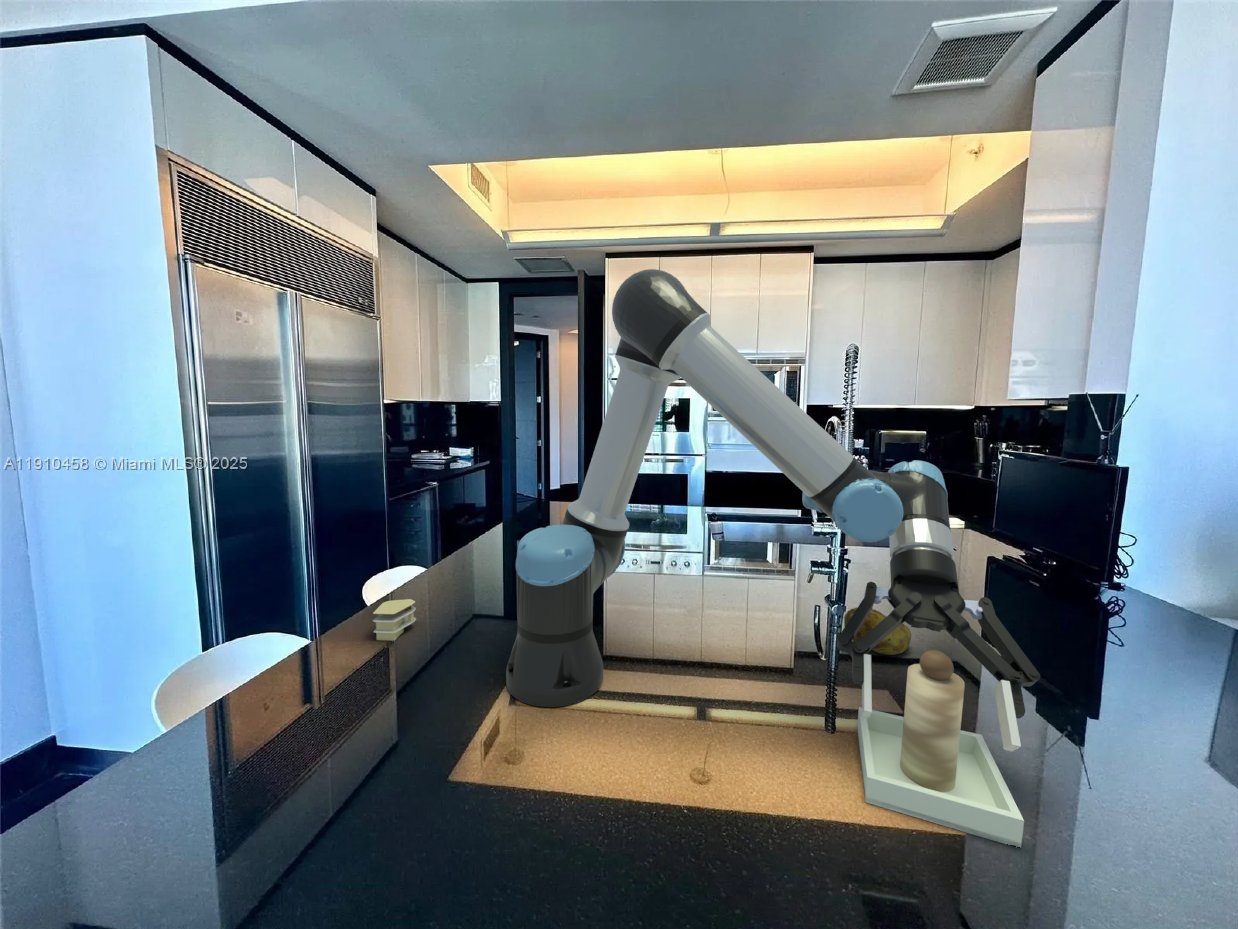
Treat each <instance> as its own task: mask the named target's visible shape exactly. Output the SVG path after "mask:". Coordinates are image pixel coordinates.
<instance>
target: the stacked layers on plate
mask: <svg viewBox="0 0 1238 929" xmlns="http://www.w3.org/2000/svg"><path fill="white" fill-rule="evenodd" d="M415 603H416V601H415V600H413V599H411V598H407V599H406V598H405V599H394V600H393V599H392V600H386V601H384V602H382V603H381V604H380V605H379V606H378V607H377V608H376V609H375V610H374V611H373V613H372V615H376V616H375V618H373V619H372V623H373V622H374V623H375V628H374V630H373V633H376V641H396V640H397V638H399V637H400V635H402V634H403V633H404V632H405V630H404V629H405V628H406V627H408V626H410V625H411V624H413V623H414V622H415V621H416V620H417V617H415V616H414V614H415V613H414V612H415V611H416V610H417V609H416V607H415V606H413V604H415Z"/></svg>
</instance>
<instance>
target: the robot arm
mask: <svg viewBox="0 0 1238 929" xmlns="http://www.w3.org/2000/svg"><path fill="white" fill-rule="evenodd" d="M611 317H612V322H613V324H614V328H615V329H616V332H617V334H618V336H620V340H619V342H618V345H617V349H616V351H615V355H614V358H615V360H616V362H617V365H618V367H619V371H618V372H619V373H618V375H617V379H616V382H615V385H614V388H613V390H612V394H611V398H610V401H609V404H608V406H607V407H608V408H607V410H606V412H605V417H604V419H603V423H602V425H601V428H600V431H599V434H598V437H597V441H596V444H595V448H594V450H593V454H592V457H591V461H590V463H589V466H588V469H587V472H586V476H585V478H584V482H583V484H582V489H581V492H580V494H579V497H578V499H576V500H574V501H572V502H570V503H569V504H568V505H567V508H566V512H565V513H564V517H563V520H562V523H561V524H553V525H547V526H545V527H539V528H536V529H533V530H531V531H529V532H528V533H526V534H525V535H524V536H522V538H521V539H520V541H519V542H518V546H517V549H516V550H517V552H516V559H515V571H516V614H517V615H516V616H517V617H516V618H517V633H516V638H515V641H514V644H513V646H512V650H511V652H510V656H509V658H508V661H507V665H506V670H505V678H506V680H505V681H506V682H505V683H506V688H507V690H508V692H509V694H510V695H511V696H513V698H515V699H517V700H518V701H520V702H522V703H524V704H527V705H530V706H536V707H543V708H553V707H554V708H555V707H564V706H565V707H566V706H569V705H574V704H576V703H579V702H581V701H584V700H586V699H588V698H590V697H591V696H593V695H594V694H595V693H596V692H597V691H598V690H599V689H600V688H601V686H602V684H603V682H604V661H603V658H602V656H601V652H600V649H599V646H598V642H597V639H596V637H595V636H596V635H595V634H594V631H593V623H594V622H593V619H594V618H593V617H594V614H593V613H594V610H593V609H594V608H593V607H594V593H595V592H596V591H597V590H598V589H599V588H600V586H602V584H603V583H604V582H606V580H607V579H608V578H609V577H611V576H612V575H613V574H614V573H615V572H616V570H617V569H618V568H619V566H620V565H621V564H622V561H623V559H624V556H625V550H626V537H627V535H628V534H627V533H628V530H629V528H630V521H629V520H628V519H627V516H626V514H625V513H626V511H627V508H628V505H629V502H630V499H631V496H632V492H633V490H634V488H635V486H636V485H635V483H636V481H637V479H638V475H639V473H640V469H641V467H642V463H643V460H644V457H645V455H646V453H647V452H646V451H647V449H648V446H649V443H650V440H651V438H652V434H653V431H654V428H655V426H656V423H657V419H658V416H659V414H660V410H661V408H662V404H663V402H664V399H665V396H666V392H667V390H668V387H669V385H671V384H673V383H674V382H677V381H678V380H680V379H682V380H683V381H684V382H685V383H686V384H687V385H689V387H690V388H692V389H693V390H694V391H695V392H696V393H697V394H698V395H699V396H700V397H702V399H703V400H705V401H706V403H707V404H708V405H710V406H711V407H712V408H713V409H714V410H715V411H716V412H717V413H718V414H720V415H721V416H722V418H723V419H725V420H726V421H727V422H728V423H729V424H730V425H731V426H732V427H733V428H735V430H736V431H738V432H739V433H740V434H741V435H742V436H743V437H744V438H745V439H746V440H747V441H748V442H749V443H751V445H753V447H754V448H756V449H757V451H759V453H761V454H762V455H763V456H764V457H765V458H767V460H769V462H771V463H772V464H773V465H774V466H775V467H776V468H777V469H778V470H779V471H780V472H781V473H783V474H784V475H785V476H786V477H787V478H788V479H789V480H790V481H791V482H792V483H793V484H794V485H795V486H796V487H798V489H800V490H801V491H802V496H801V497H802V498H801V500H802V505H803V506H804V508H806V509H809V510H813V511H817V512H818V513H821V514H822V513H824V514H826V516H828V517H829V518H830V519H831V520H832V521H833V522H834V524H835V526H836V527H837V528H838V529H839V530H840V531H841V532H842V534H845V535H846V536H848V537H849V538H851V539H853V540H855V541H858V542H863V543H864V542H865V543H876V542H877V543H878V542H880V541H883V540H885V539H887V538H889V558H890V561H889V569H890V574H889V575H890V587H889V588H884V587H879V586H877V584H876V583H875V582H873V581H868V582H866V586H865V590H864V595H863V596H864V597H863V598H862V600H861V602H860V603H859V605H858V608H857V607H856V608H857V609H856V611H855V612H854V614H853V615H852V617H851V618H850V620H849V621H848V623H847V625H846V626H845V625H844V628H843V629H842V631H841V632H840V633H839V635H838V636H837V641H836V648H837V650H838V651H841V652H844V653H847V654H848V655H849V656H850V658H851V663H852V664H851V680H852V682H853V684H856V685H860V686H861V707H862V716H863V717H867V718H869V717H870V715H871V713H872V710H873V702H872V698H873V697H872V691H873V690H872V654H868V653H869V652H870V651H871V650H872V648H874V647H875V646H876V645H877V644H878V643H879V642H881V641H882V640H883V639H884V638H885V637H886V636H887V635H889V634H890V633H891V632H892V631H893V630H894V629H896V628H898V627H899V626H900V625H901V624H902V623H903V624H905V623H906V624H907V625H909V626H910V627H911V628H916V629H927V630H929V631H930V630H931V631H932V632H933V631H934V632H938V633H940V632H941V631H946V632H947V633H948V634H949V635H950V637H952V638H954V639H955V640H957V641H958V642H960V644H962V646H963V647H964V648H965V649H966V651H968V652H969V653H970V654H971V655H972V656H973V658H975V659H976V660H977V661H978V662H979V663H980V664H981V665H982V667H984V668H985V669H986V670H987V671H988V672H989V674H990V675H991V676H993V677H994V678H995V679H996V680H997V681H998V682H997V683H996V685H995V686H994V687H993V690H994V696H995V703H996V708H997V716H998V722H999V723H998V724H999V728H1000V735H1001V741H1002V748H1003V750H1004V751H1008V752H1012V753H1014V752H1015V751H1016V750H1017V749H1019V748H1021V747H1022V744H1021V738H1020V732H1019V727H1018V720H1017V719H1019V720H1020V719H1021V718H1022V717H1024V716H1025V715H1026V714H1025V713H1026V707H1025V703H1024V702H1025V701H1024V695H1023V691H1022V690H1023V689H1022V687H1027V688H1028V687H1029V688H1030V687H1032V686H1033V685H1035V684H1036V683H1037V682H1038V681H1040V679H1041V674H1040V672H1039V671H1038V670H1037V668H1036V666H1034V664H1033V663H1032V662H1031V660H1030V659H1029V658H1028V656H1027V655H1026V654H1025V653H1024V651H1023V650H1022V648H1021V647H1020V645H1018V643H1017V641H1016V640H1015V639H1014V638H1013V636H1012V635H1011V634H1010V632H1009V631H1008V630H1007V628H1006V627H1005V626H1004V624H1003V623H1002V622H1001V620H1000V619H999V617H998V616H997V615H996V611H995V609H994V606H993V601H992V600H991V599H990V598H989V597H980V598H979V600H973V599H972V600H969V599H964V598H963V597H962V595H961V594H960V588H959V581H958V580H959V579H958V574H957V573H958V572H957V565H956V562H955V557H956V556H955V550H954V542H953V538H952V537H953V535H952V529H951V525H950V523H951V522H950V513H949V502H948V499H949V497H948V494H949V493H948V490H947V487H946V483H945V479H944V475H943V473H942V471H941V470H940V469H939V468H938V466H936V465H934V464H932V463H930V462H928V461H924V460H918V459H917V460H916V459H915V460H912V461H909V462H908V461H901V462H899V463H896V464H894V465H892V467H890V469H888V471H887V472H883V471H875V470H870V469H868V468H867V467H865V466H864V465H863V464H862V463H861V462H860V461H858V459H856V458H855V457H854V456H853V454H851V452H850V451H848V450H847V449H846V448H844V446H842V444H841V443H840V442H838V441H837V440H836V439H835V438H834V437H833V436H832V435H830V433H828V432H827V431H826V430H825V429H824V428H823V427H822V426H820V424H819V423H817V421H815V420H814V419H813V418H812V417H811V416H810V415H808V414H807V413H806V412H805V411H804V410H803V408H801V407H800V406H798V405H797V403H795V402H794V401H793V400H792V399H791V398H790V397H789V396H788V395H787V394H786V393H785V392H783V391H782V390H781V389H780V388H779V387H778V386H777V385H776V384H775V383H774V382H772V381H771V380H770V379H769V378H768V377H767V376H766V375H765V374H764V373H763V372H762V371H760V370H759V369H758V368H757V367H756V366H755V365H754V364H753V363H752V362H751V361H749V360H748V359H747V358H746V357H745V356H744V355H743V354H742V353H741V352H739V351H738V350H737V349H736V348H735V347H734V346H733V345H732V344H730V342H728V340H726V339H725V338H724V337H723V336H722V335H721V334H720V333H719V332H717V330H715V329H714V327H712V325H711V315H710V314H709V313H708V312H707V311H706V309H704V308H703V307H702V306H701V305H700V304H699V303H698V302H697V301H696V300H695V299H694V298H693V297H692V295H690V293H689V292H688V290H687V289H686V288H685V286H684V285H683V283H682V282H681V281H680V280H679V279H678V278H677V277H676V276H674V275H672V274H671V273H669V272H667V271H665V270H660V269H656V268H653V269H652V268H651V269H650V268H649V269H643V270H640V271H638V272H634V273H633V274H631V275H630V276H628V277H627V278H626V279H625V280H624V281H623V282H622V283H621V284H620V285H619V287H618V289H617V291H616V292H615V296H614V298H613V300H612V306H611ZM885 599H886V600H887V601H888V603H889V604H890V605H891V606H892V607H893V610H892V611H891V612H890V613H889V614H888V615H887V617H886V618H885V619H883V620H882V621H881V622H880V623H879V624H878V625H876V626H875V627H874V628H873V629H872V630H871V631H869V632H868V633H867V634H866V635H865V636H864V637H862V638H861V639H860V640H859V641H858V642H857V643H855V642H854V641H853V638H854V637H855V635H856V633H857V632H858V630H859V629H860V627H861V626H862V624H863V623H864V621H865V619H866V618H867V616H868V615H869V613H870V612H871V610H872V609H873V607H874V605H878V604H880V603H881V602H882V601H884V600H885ZM963 611H966V612H968V613H969V614H970V615H971V618H972V619H974V620H977V622H978V624H979V626H980V628H981V629H982V631H983V632H984V634H985V635H986V636H987V638H988V639H989V641H990V642H991V643H992V645H993V647H994V648H995V649H996V650H994V648H993V647H991V645H989V643H987V642H986V641H985V640H984V638H982V637H981V636H980V635H979V634H978V633H977V632H976V631H975V630H974V629H973V628H972V627H971V626H970V623H969V621H968V620H967V619H966V618H965V617H964V616H962V615H961V614H962V613H963Z"/></svg>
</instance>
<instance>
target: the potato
mask: <svg viewBox="0 0 1238 929" xmlns="http://www.w3.org/2000/svg"><path fill="white" fill-rule="evenodd" d="M857 608H858V607H854V608H851V609H849V610H847V611H846V613H845V615H844V617H843V618H844V620H843V621H844V627H845V626H846V625H847V623H848V621H849V620H850V618H851V617H852V615H853V614H854V612H855V611H856V609H857ZM887 616H888V615H887ZM887 616H886V615H885V614H884V613H882V612H881V611H879V610H878V609H874V608H872V610H871V612H870V613H869V615H868V616H867V618H866V619H865V621H864V623H863V624H862V626H861V627H860V629H859V630H858V632H857V633H856V635H855V637H854V638H853V640H852V641H853V642H855V643H857V642H858V641H859V640H860V639H861V638H862V637H864V636H865V635H866V634H867V633H868V632H869V631H871V630H872V629H873V628H874V627H875V626H876V625H878V624H879V623H880V622H881V621H882V620H883V619H885V618H886V617H887ZM911 639H912V632H911V630H910V628H909V627H908V626H907V625H906V624H905V623H902V624H901V625H900V626H899V627H898V628H896V629H894V630H893V631H892V632H891V633H890V634H889V635H887V636H886V637H885V638H884V639H883V640H882V641H881V642H879V643H878V644H877V645H876V646H875V647H874V648H872V649H871V650H872V651H874V652H876V653H878V654H881V655H886V656H894V655H898V654H902V653H904V652H905V651H906V650H907V649H909V646H910V644H911Z"/></svg>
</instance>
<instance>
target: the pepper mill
mask: <svg viewBox="0 0 1238 929" xmlns="http://www.w3.org/2000/svg"><path fill="white" fill-rule="evenodd" d="M954 669H955V668H954V663H953V662H952V660H951V658H950V657H949V656H948V655H947V654H945V653H944V652H942V651H940V650H936V649H935V650H933V649H932V650H927V651H925V652H923V653H922V655H921V656H920V658H919V663H913V664H911V665H909V666H908V667H907V673H906V688H905V699H904V701H905V702H904V711H903V712H904V713H903V717H904V722H903V735H902V747H901V759H900V767H901V770H902V771H903V773H904V774H905V775H906V776H907V777H908V778H909V779H910V780H912V781H913V782H915V783H916V784H918V785H920V786H922V787H924V788H927V789H931V790H934V791H938V792H947V791H951V790H952V789H953V788H954V787H955V781H956V771H957V760H958V750H959V739H960V730H961V729H962V728H961V726H962V718H963V706H964V695H965V684H966V683H965V681H964V680H963V678H962V677H961V676H959V675H958V674H956V673H954Z"/></svg>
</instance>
